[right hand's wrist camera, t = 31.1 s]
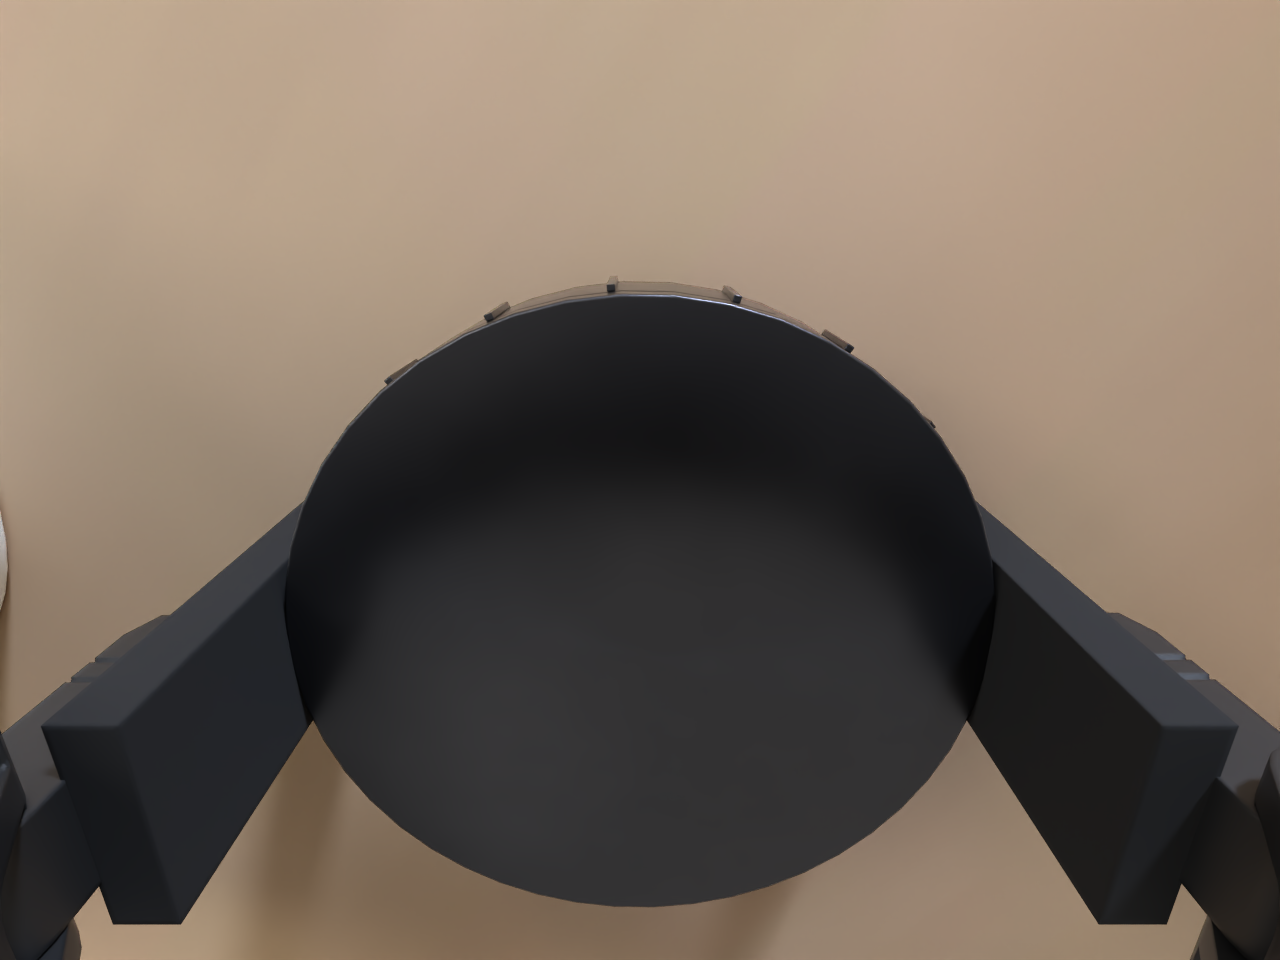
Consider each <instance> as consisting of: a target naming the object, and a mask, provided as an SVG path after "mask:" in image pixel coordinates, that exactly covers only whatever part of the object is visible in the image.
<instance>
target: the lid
mask: <svg viewBox="0 0 1280 960" xmlns="http://www.w3.org/2000/svg"><path fill="white" fill-rule="evenodd" d="M484 318H485V319H484V320H482V321H480V322H479V323H477V324H475V325H473V326H472V327H470V328H468V329H467V330H465V331H463V332H461V333H460V334H458V335H456V336H455V337H453V338H451V339H450V340H448V341H447V342H445V343H444V344H442V345H441V346H439V347H438V348H436V349H435V350H433V351H432V352H430V353H428V354H427V355H425V356H424V357H422V358H421V359H419V360H417V359H415V360H414V361H412V362H411V363H409V364H408V365H406V366H405V367H403V368H401V369H400V370H398V371H397V372H395V373H394V374H392V375H391V376H389V377H388V378H387V379H386V380H385V381H384V382H385V383H386V384H387V386H385V387H384V388H383V389H382V390H380V391H379V393H378V394H377V395H376V396H375V397H374V398H373V399H372V400H371V401H370V402H369V403H368V404H367V405H366V407H365V408H364V409H363V410H362V411H361V412H360V413H359V414H358V415H357V416H356V417H355V418H354V419H353V421H352V422H351V423H350V424H349V425H348V426H347V427H346V429H345V430H344V432H343V433H342V435H341V436H340V438H339V439H338V441H337V442H336V444H335V445H334V447H333V448H332V449H331V451H330V452H329V454H328V455H327V457H326V458H325V460H324V461H323V463H322V464H321V466H320V468H319V471H318V473H317V475H316V477H315V479H314V481H313V483H312V485H311V488H310V490H309V492H308V494H307V496H306V498H305V500H304V502H303V505H302V508H301V511H300V515H299V518H298V522H297V525H296V528H295V532H294V535H293V539H292V542H291V546H290V554H289V561H288V569H287V577H286V585H285V601H286V630H287V635H288V641H289V646H290V651H291V656H292V661H293V666H294V671H295V674H296V677H297V680H298V683H299V686H300V689H301V692H302V695H303V698H304V701H305V704H306V706H307V708H308V710H309V712H310V714H311V716H312V718H313V720H314V722H315V724H316V726H317V728H318V730H319V732H320V734H321V736H322V738H323V740H324V742H325V743H326V744H327V746H328V747H329V749H330V750H331V752H332V753H333V755H334V756H335V758H336V759H337V761H338V762H339V764H340V765H341V767H342V768H343V769H344V771H345V772H346V773H347V775H348V776H349V777H350V778H351V779H352V780H353V781H354V782H355V784H356V785H357V786H358V787H359V788H360V789H361V790H362V792H363V793H364V794H365V795H366V796H367V797H368V798H369V799H370V801H371V802H373V803H374V804H375V805H376V806H377V807H378V808H379V809H380V810H382V811H383V812H384V813H385V814H386V815H387V816H388V817H389V818H390V819H392V820H393V821H394V822H395V823H396V824H397V825H398V826H399V827H401V828H402V829H404V830H405V831H407V832H408V833H409V834H411V835H412V836H414V837H415V838H416V839H418V840H419V841H421V842H422V843H424V844H425V845H426V846H428V847H429V848H431V849H432V850H434V851H436V852H438V853H439V854H441V855H443V856H445V857H447V858H448V859H450V860H452V861H454V862H456V863H457V864H459V865H461V866H463V867H465V868H467V869H469V870H472V871H474V872H476V873H479V874H481V875H483V876H486V877H488V878H490V879H493V880H495V881H497V882H500V883H503V884H506V885H509V886H512V887H515V888H519V889H522V890H525V891H528V892H531V893H535V894H538V895H543V896H548V897H552V898H557V899H562V900H567V901H572V902H577V903H586V904H595V905H604V906H614V907H662V906H674V905H686V904H695V903H701V902H706V901H712V900H718V899H723V898H729V897H733V896H737V895H740V894H744V893H747V892H751V891H755V890H758V889H762V888H765V887H769V886H771V885H774V884H776V883H779V882H781V881H784V880H787V879H789V878H792V877H794V876H797V875H799V874H802V873H804V872H806V871H808V870H810V869H812V868H814V867H816V866H818V865H820V864H822V863H824V862H826V861H828V860H830V859H832V858H834V857H835V856H837V855H839V854H841V853H842V852H844V851H845V850H847V849H848V848H850V847H851V846H853V845H854V844H856V843H857V842H859V841H860V840H862V839H864V838H865V837H867V836H868V835H870V834H871V833H872V832H874V831H875V830H876V829H877V828H878V827H880V826H881V825H882V824H883V823H884V822H886V821H887V820H888V819H889V818H890V817H892V816H893V815H894V814H895V813H896V812H898V811H899V810H900V809H901V808H902V807H903V806H904V805H905V804H906V803H907V802H908V801H909V800H910V799H911V798H912V796H913V795H914V794H915V793H916V792H917V791H918V790H919V789H920V788H921V787H922V786H923V785H924V784H925V783H926V782H927V781H928V779H929V778H930V777H931V775H932V774H933V773H934V771H935V770H936V768H937V767H938V766H939V764H940V763H941V762H942V760H943V759H944V758H945V756H946V755H947V754H948V752H949V751H950V750H951V748H952V746H953V744H954V742H955V740H956V739H957V737H958V735H959V733H960V731H961V730H962V728H963V726H964V724H965V722H966V721H967V719H968V717H969V715H970V712H971V710H972V707H973V705H974V702H975V699H976V697H977V694H978V692H979V689H980V686H981V684H982V681H983V678H984V673H985V668H986V664H987V659H988V654H989V649H990V644H991V639H992V634H993V622H994V608H995V593H994V580H993V568H992V557H991V553H990V549H989V545H988V540H987V536H986V532H985V528H984V524H983V520H982V516H981V514H980V511H979V509H978V506H977V504H976V501H975V499H974V497H973V494H972V492H971V489H970V487H969V485H968V482H967V480H966V477H965V475H964V474H963V472H962V470H961V469H960V467H959V466H958V464H957V462H956V461H955V459H954V457H953V456H952V454H951V452H950V451H949V449H948V448H947V446H946V444H945V443H944V441H943V439H942V438H941V436H940V435H939V434H938V433H937V432H936V431H935V429H934V428H935V425H934V424H933V423H932V422H931V421H930V420H929V419H927V418H926V417H924V416H923V415H922V414H921V413H920V412H919V410H918V409H917V408H916V407H915V406H914V405H913V403H912V402H911V401H910V400H909V399H908V398H907V397H905V396H904V395H903V394H902V393H901V392H900V391H898V390H897V389H896V388H895V387H894V386H893V385H892V384H890V383H889V382H888V381H887V380H886V379H885V378H884V377H882V376H881V375H880V374H879V373H878V372H877V371H876V370H874V369H873V368H872V367H870V366H869V365H867V364H866V363H864V362H863V361H861V360H860V359H858V358H857V357H855V356H854V355H852V354H851V352H852V350H853V349H854V347H853V346H851V345H850V344H848V343H847V342H845V341H843V340H842V339H840V338H839V337H837V336H835V335H834V334H832V333H831V332H829V331H827V330H824V332H823V333H822V335H821V334H820V333H818V332H817V331H815V330H814V329H812V328H810V327H809V326H807V325H806V324H804V323H803V322H801V321H799V320H797V319H794V318H792V317H790V316H788V315H786V314H784V313H781V312H779V311H777V310H775V309H773V308H770V307H768V306H766V305H764V304H762V303H759V302H756V301H752V300H749V299H746V298H742V296H741V295H739V294H738V293H737V292H736V291H734V290H733V289H732V288H731V287H728V286H723V290H722V291H719V290H715V289H709V288H703V287H696V286H690V285H684V284H677V283H671V282H618V276H612V277H610V279H609V281H608V283H606V284H598V285H589V286H580V287H575V288H571V289H567V290H563V291H559V292H555V293H551V294H547V295H544V296H540V297H536V298H532V299H530V300H527V301H525V302H522V303H520V304H517V305H515V306H513V307H510V306H509V304H508V302H505V303H503V304H501V305H499V306H498V307H496V308H495V309H493V310H491V311H490V312H488V313H487V314H485V315H484ZM824 336H825V337H824Z"/></svg>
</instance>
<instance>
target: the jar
mask: <svg viewBox="0 0 1280 960" xmlns="http://www.w3.org/2000/svg"><path fill="white" fill-rule="evenodd" d="M7 572H8V560H7V544H6V536H5V531H4V527H3V522H2V517H1V512H0V610H1V607H2V603H3V600H4V596H5V592H6V582H7Z"/></svg>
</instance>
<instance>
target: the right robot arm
mask: <svg viewBox="0 0 1280 960" xmlns="http://www.w3.org/2000/svg"><path fill="white" fill-rule="evenodd" d="M303 502H304V501H303ZM303 502H302V503H301V504H300V505H299V506H298V507H296V508H295V509H294V510H293V511H292V512H291V513H289V514H288V515H287V516H286V517H285V518H284V519H282V520H281V521H280V522H279V523H278V524H277V525H275V526H274V527H273V528H272V529H271V530H270V531H268V532H267V533H266V534H265V535H264V536H262V537H261V538H260V539H259V540H258V541H257V542H255V543H254V544H253V545H252V546H251V547H250V548H248V549H247V550H246V551H245V552H244V553H243V554H241V555H240V556H239V557H238V558H237V559H236V560H234V561H233V562H232V563H231V564H230V565H229V566H227V567H226V568H225V569H224V570H223V571H221V572H220V573H219V574H218V575H217V576H216V577H214V578H213V579H212V580H211V581H210V582H209V583H207V584H206V585H205V586H204V587H203V588H202V589H200V590H199V591H198V592H197V593H196V594H195V595H193V596H192V597H191V598H190V599H189V600H187V601H186V602H185V603H184V604H183V605H182V606H180V607H179V608H178V609H177V610H176V611H175V612H173V613H172V614H171V615H162V616H160V617H158V618H156V619H154V620H152V621H150V622H148V623H146V624H144V625H142V626H140V627H138V628H136V629H134V630H132V631H130V632H128V633H126V634H125V635H123V636H122V637H120V638H119V639H118V640H117V641H116V642H114V643H113V644H112V645H111V646H109V647H108V648H107V649H106V650H105V651H103V652H102V653H101V654H100V655H98V656H97V657H96V658H95V662H94V663H89V664H87V665H86V666H85V667H84V668H82V669H81V670H80V671H79V672H78V673H76V674H75V675H74V676H73V677H71V678H72V680H71V682H70V683H64V684H63V685H62V686H60V687H59V688H58V689H57V690H55V691H54V692H53V693H52V694H51V695H49V696H48V697H47V698H46V699H44V700H43V701H42V702H41V703H39V704H38V705H37V706H36V707H35V708H33V709H32V710H31V711H30V712H28V713H27V714H26V715H25V716H24V717H22V718H21V719H20V720H19V721H17V722H16V723H15V724H14V725H12V726H11V727H10V728H9V729H8V730H6V731H5V732H4V733H3V734H1V731H0V960H80V955H81V948H82V947H81V941H80V935H79V930H78V928H77V925H76V923H75V920H74V916H75V915H76V914H77V913H78V911H79V910H80V909H81V908H82V906H83V905H84V904H85V903H86V902H87V900H88V899H89V898H90V897H91V895H92V894H93V893H94V892H95V890H96V889H97V888H98V887H100V890H101V893H102V895H103V898H104V901H105V904H106V906H107V909H108V912H109V915H110V917H111V920H112V923H113V924H181V923H182V922H183V920H184V919H185V917H186V916H187V914H188V913H189V911H190V909H191V908H192V906H193V905H194V903H195V902H196V900H197V899H198V897H199V896H200V894H201V892H202V891H203V889H204V888H205V886H206V885H207V883H208V882H209V880H210V879H211V877H212V875H213V874H214V872H215V871H216V869H217V868H218V866H219V865H220V863H221V862H222V860H223V858H224V857H225V855H226V854H227V852H228V851H229V849H230V848H231V846H232V844H233V843H234V841H235V840H236V838H237V837H238V835H239V834H240V832H241V831H242V829H243V827H244V826H245V824H246V823H247V821H248V820H249V818H250V817H251V815H252V814H253V812H254V810H255V809H256V807H257V806H258V804H259V803H260V801H261V800H262V798H263V797H264V795H265V793H266V792H267V790H268V789H269V787H270V786H271V784H272V783H273V781H274V780H275V778H276V776H277V775H278V773H279V772H280V770H281V769H282V767H283V766H284V764H285V762H286V761H287V759H288V758H289V756H290V755H291V753H292V752H293V750H294V749H295V747H296V745H297V744H298V742H299V741H300V739H301V738H302V736H303V735H304V733H305V732H306V730H307V728H308V727H309V725H310V724H311V722H312V721H313V718H312V716H311V714H310V712H309V710H308V708H307V706H306V704H305V701H304V698H303V695H302V692H301V689H300V686H299V683H298V680H297V677H296V674H295V671H294V666H293V661H292V656H291V651H290V646H289V641H288V635H287V630H286V601H285V585H286V577H287V569H288V561H289V554H290V546H291V542H292V539H293V535H294V532H295V528H296V525H297V522H298V518H299V515H300V511H301V508H302V505H303ZM976 504H977V506H978V509H979V511H980V514H981V516H982V520H983V524H984V528H985V532H986V536H987V540H988V545H989V549H990V553H991V557H992V568H993V580H994V593H995V608H994V622H993V634H992V639H991V644H990V649H989V654H988V659H987V664H986V668H985V673H984V678H983V681H982V684H981V686H980V689H979V692H978V694H977V697H976V699H975V702H974V705H973V707H972V710H971V712H970V715H969V717H968V719H967V721H968V723H969V724H970V726H971V727H972V729H973V731H974V732H975V734H976V735H977V737H978V738H979V740H980V741H981V743H982V744H983V746H984V748H985V749H986V751H987V752H988V754H989V755H990V757H991V758H992V760H993V761H994V763H995V765H996V766H997V768H998V769H999V771H1000V772H1001V774H1002V775H1003V777H1004V778H1005V780H1006V782H1007V783H1008V785H1009V786H1010V788H1011V789H1012V791H1013V792H1014V794H1015V795H1016V797H1017V799H1018V800H1019V802H1020V803H1021V805H1022V806H1023V808H1024V809H1025V811H1026V812H1027V814H1028V816H1029V817H1030V819H1031V820H1032V822H1033V823H1034V825H1035V826H1036V828H1037V830H1038V831H1039V833H1040V834H1041V836H1042V837H1043V839H1044V840H1045V842H1046V843H1047V845H1048V847H1049V848H1050V850H1051V851H1052V853H1053V854H1054V856H1055V857H1056V859H1057V860H1058V862H1059V864H1060V865H1061V867H1062V868H1063V870H1064V871H1065V873H1066V874H1067V876H1068V877H1069V879H1070V881H1071V882H1072V884H1073V885H1074V887H1075V888H1076V890H1077V891H1078V893H1079V894H1080V896H1081V898H1082V899H1083V901H1084V902H1085V904H1086V905H1087V907H1088V908H1089V910H1090V911H1091V913H1092V915H1093V916H1094V918H1095V919H1096V921H1097V922H1098V924H1167V922H1168V919H1169V916H1170V914H1171V911H1172V908H1173V905H1174V903H1175V900H1176V897H1177V894H1178V892H1179V889H1180V886H1181V884H1183V885H1184V887H1185V888H1186V889H1187V890H1188V892H1189V893H1190V894H1191V895H1192V897H1193V898H1194V899H1195V900H1196V902H1197V903H1198V904H1199V905H1200V906H1201V908H1202V909H1203V910H1204V911H1205V913H1206V914H1207V918H1206V920H1205V923H1204V925H1203V928H1202V930H1201V933H1200V936H1199V938H1198V941H1197V943H1196V946H1195V948H1194V951H1193V953H1192V956H1191V959H1190V960H1280V732H1279V731H1278V730H1277V729H1276V728H1274V727H1273V726H1272V725H1271V724H1269V723H1268V722H1267V721H1266V720H1265V719H1263V718H1262V717H1261V716H1260V715H1258V714H1257V713H1256V712H1255V711H1253V710H1252V709H1251V708H1250V707H1248V706H1247V705H1246V704H1245V703H1243V702H1242V701H1241V700H1240V699H1239V698H1237V697H1236V696H1235V695H1234V694H1232V693H1231V692H1230V691H1229V690H1227V689H1226V688H1225V687H1224V686H1222V685H1221V684H1220V683H1219V682H1218V681H1216V680H1210V679H1209V674H1208V673H1206V672H1205V671H1204V670H1203V669H1201V668H1200V667H1199V666H1198V665H1196V664H1195V663H1194V662H1193V661H1192V660H1186V659H1185V655H1184V654H1183V653H1182V652H1180V651H1179V650H1178V649H1177V648H1175V647H1174V646H1173V645H1172V644H1171V643H1169V642H1168V641H1167V640H1166V639H1164V638H1163V637H1162V636H1161V635H1159V634H1158V633H1157V632H1155V631H1153V630H1151V629H1149V628H1147V627H1145V626H1143V625H1141V624H1139V623H1137V622H1135V621H1133V620H1131V619H1130V618H1128V617H1126V616H1124V615H1122V614H1120V613H1106V612H1105V611H1104V610H1103V609H1102V608H1100V607H1099V606H1098V605H1097V604H1096V603H1094V602H1093V601H1092V600H1091V599H1090V598H1089V597H1087V596H1086V595H1085V594H1084V593H1083V592H1082V591H1080V590H1079V589H1078V588H1077V587H1076V586H1075V585H1073V584H1072V583H1071V582H1070V581H1069V580H1068V579H1066V578H1065V577H1064V576H1063V575H1062V574H1061V573H1059V572H1058V571H1057V570H1056V569H1055V568H1053V567H1052V566H1051V565H1050V564H1049V563H1048V562H1046V561H1045V560H1044V559H1043V558H1042V557H1041V556H1039V555H1038V554H1037V553H1036V552H1035V551H1034V550H1032V549H1031V548H1030V547H1029V546H1028V545H1027V544H1025V543H1024V542H1023V541H1022V540H1021V539H1020V538H1018V537H1017V536H1016V535H1015V534H1014V533H1012V532H1011V531H1010V530H1009V529H1008V528H1007V527H1005V526H1004V525H1003V524H1002V523H1001V522H1000V521H998V520H997V519H996V518H995V517H994V516H993V515H991V514H990V513H989V512H988V511H987V510H986V509H984V508H983V507H982V506H981V505H980V504H978V503H977V502H976Z"/></svg>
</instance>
